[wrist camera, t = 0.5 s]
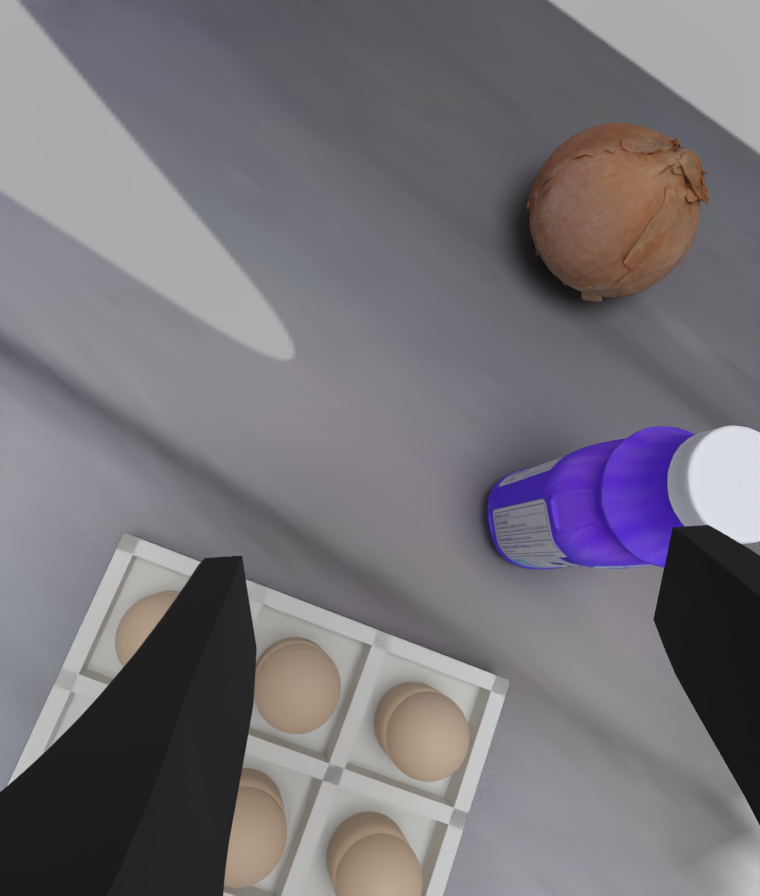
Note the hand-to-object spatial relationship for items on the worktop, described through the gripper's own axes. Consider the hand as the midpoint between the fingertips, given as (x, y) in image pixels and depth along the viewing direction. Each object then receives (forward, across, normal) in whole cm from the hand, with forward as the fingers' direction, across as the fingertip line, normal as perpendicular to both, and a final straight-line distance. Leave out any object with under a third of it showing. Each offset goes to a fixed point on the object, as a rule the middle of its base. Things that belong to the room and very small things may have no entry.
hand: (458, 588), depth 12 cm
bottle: (+24, -9, +16) cm, 30 cm away
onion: (+35, -13, +3) cm, 37 cm away
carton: (+15, +7, +22) cm, 28 cm away
